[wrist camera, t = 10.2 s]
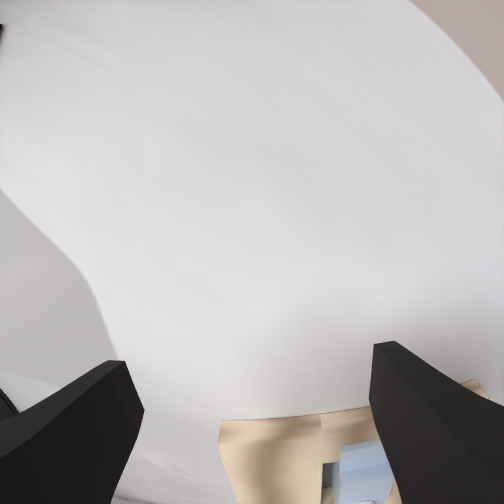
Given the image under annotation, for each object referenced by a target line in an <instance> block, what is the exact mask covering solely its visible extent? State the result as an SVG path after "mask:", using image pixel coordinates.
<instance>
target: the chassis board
mask: <svg viewBox="0 0 504 504" xmlns="http://www.w3.org/2000/svg"><path fill="white" fill-rule="evenodd" d="M460 385H462V386H464V387H466V388H468V389H469V390H471V391H473V392H475V393H476V394H478V395H480V396H482V397H484V398H486V399H488V400H489V396H488V395H487V394H486V392H485V391H484V390H483V388H482V387H481V386H480V384H479V383H478V382H477V381H476V379H474V380H471V381H468V382H465V383H462V384H460ZM378 439H380V438H379V435H378V432H377V430H376V427H375V423H374V419H373V414H372V410H371V406H369V407H364V408H358V409H352V410H345V411H339V412H332V413H324V414H316V415H307V416H297V417H286V418H273V419H256V420H222V422H221V428H220V433H219V438H218V443H217V446H218V449H219V452H220V455H221V458H222V461H223V464H224V467H225V470H226V473H227V476H228V478H229V481H230V484H231V487H232V489H233V492H234V495H235V497H236V500H237V503H238V504H334V495H333V487H324V488H321V487H322V468H323V464H324V463H331V462H338V461H339V453H340V446H346V445H352V444H357V443H363V442H368V441H373V440H378ZM385 504H402V502H401V497H400V494H399V490H398V487H397V484H396V481H395V479H394V482H393V485H392V487H391V490H390V493H389V495H388V498H387V500H386V503H385Z"/></svg>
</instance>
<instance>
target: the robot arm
mask: <svg viewBox="0 0 504 504" xmlns="http://www.w3.org/2000/svg"><path fill="white" fill-rule="evenodd" d="M369 401H370V406H371V410H372V414H373V419H374V423H375V427H376V430H377V432H378V435H379V438H380V440H381V443H382V446H383V448H384V451H385V454H386V456H387V459H388V462H389V465H390V467H391V470H392V473H393V476H394V478H395V481H396V484H397V487H398V490H399V494H400V497H401V502H402V504H504V406H502V405H499V404H497V403H495V402H493V401H491V400H488V399H486V398H484V397H482V396H480V395H478V394H476V393H475V392H473V391H471V390H469V389H468V388H466V387H464V386H462V385H460V384H459V383H457V382H455V381H454V380H452V379H451V378H449V377H447V376H446V375H444V374H443V373H441V372H440V371H438V370H437V369H435V368H434V367H432V366H431V365H429V364H428V363H426V362H425V361H423V360H422V359H420V358H419V357H418V356H416V355H415V354H413V353H412V352H410V351H409V350H408V349H406V348H405V347H403V346H402V345H400V344H399V343H397V342H395V341H389V342H384V343H378V344H374V348H373V361H372V373H371V383H370V392H369ZM143 414H144V408H143V405H142V403H141V401H140V398H139V396H138V393H137V391H136V389H135V386H134V384H133V381H132V378H131V376H130V373H129V371H128V368H127V365H126V363H125V361H114V360H108V361H106V362H104V363H102V364H100V365H99V366H97V367H95V368H93V369H92V370H90V371H89V372H87V373H85V374H84V375H82V376H81V377H79V378H78V379H76V380H75V381H73V382H72V383H70V384H68V385H67V386H65V387H64V388H62V389H60V390H59V391H57V392H56V393H54V394H52V395H51V396H49V397H47V398H46V399H44V400H42V401H41V402H39V403H37V404H35V405H34V406H32V407H30V408H28V409H26V410H25V411H23V412H21V413H19V414H17V415H14V416H12V417H10V418H8V419H6V420H3V421H1V422H0V504H111V500H112V497H113V494H114V492H115V489H116V487H117V484H118V482H119V480H120V477H121V475H122V472H123V470H124V468H125V466H126V463H127V461H128V459H129V456H130V454H131V452H132V449H133V447H134V444H135V442H136V440H137V437H138V434H139V430H140V427H141V423H142V418H143Z"/></svg>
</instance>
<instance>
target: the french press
mask: <svg viewBox="0 0 504 504" xmlns="http://www.w3.org/2000/svg"><path fill="white" fill-rule="evenodd" d="M17 414H19V413H18V412H17V410H16V408H15V407H14V405H13V404H12V403H11V401H10V400H9V399H8V397H7V396H6V395H5V394H4V393H3V392H2V390H1V389H0V422H1V421H3V420H6V419H8V418H10V417H12V416H14V415H17Z"/></svg>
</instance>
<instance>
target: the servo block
mask: <svg viewBox="0 0 504 504" xmlns="http://www.w3.org/2000/svg"><path fill="white" fill-rule="evenodd" d="M394 479H395V478H394V476H393V473H392V470H391V467H390V465H389V462H388V459H387V456H386V454H385V451H384V448H383V446H382V443H381V440H380V439H378V440H373V441H368V442H363V443H357V444H352V445H346V446H340V453H339V461H338V462H333V465H332V478H331V480H332V487H333V495H334V504H385V503H386V500H387V498H388V495H389V493H390V490H391V487H392V485H393V482H394Z"/></svg>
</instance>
